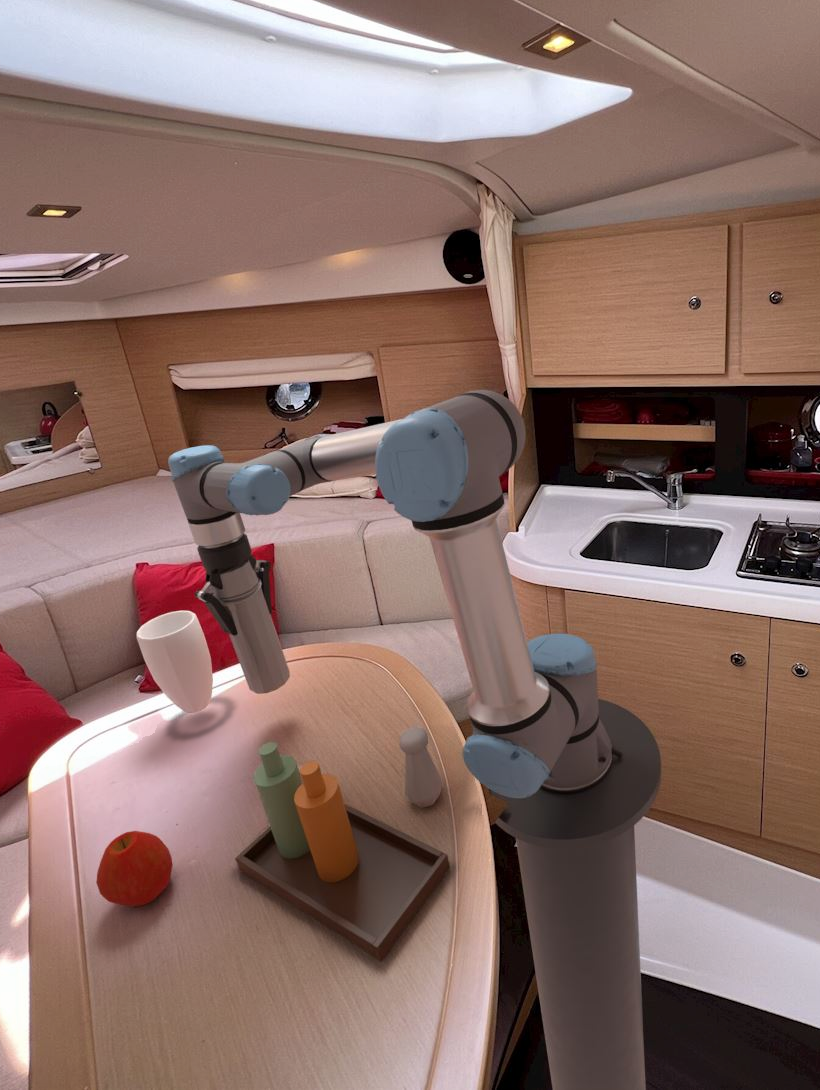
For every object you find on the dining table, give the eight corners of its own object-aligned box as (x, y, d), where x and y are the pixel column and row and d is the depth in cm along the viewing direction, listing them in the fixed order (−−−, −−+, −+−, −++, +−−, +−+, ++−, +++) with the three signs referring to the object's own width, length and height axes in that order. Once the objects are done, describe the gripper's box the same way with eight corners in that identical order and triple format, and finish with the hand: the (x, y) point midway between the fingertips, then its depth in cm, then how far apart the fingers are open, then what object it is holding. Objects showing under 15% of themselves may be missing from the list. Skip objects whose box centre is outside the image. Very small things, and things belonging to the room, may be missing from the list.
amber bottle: (360, 841, 89) (333, 747, 82) (358, 876, 83) (329, 778, 77) (320, 852, 87) (289, 757, 81) (315, 887, 82) (283, 789, 76)
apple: (102, 930, 80) (71, 874, 76) (125, 874, 87) (98, 821, 83) (170, 910, 82) (143, 855, 78) (187, 857, 89) (164, 804, 85)
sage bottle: (320, 821, 93) (292, 729, 86) (316, 852, 87) (285, 757, 81) (282, 830, 91) (250, 738, 85) (275, 863, 86) (241, 768, 80)
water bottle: (254, 675, 114) (211, 559, 105) (297, 666, 115) (258, 551, 106) (240, 707, 106) (192, 584, 96) (286, 698, 107) (243, 576, 97)
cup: (233, 693, 124) (201, 603, 116) (228, 725, 115) (194, 630, 107) (176, 709, 121) (139, 618, 113) (167, 743, 112) (126, 647, 104)
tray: (450, 867, 84) (447, 854, 83) (381, 961, 73) (377, 948, 72) (315, 799, 97) (311, 787, 96) (239, 870, 86) (234, 858, 85)
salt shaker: (404, 814, 93) (388, 749, 88) (411, 784, 98) (396, 721, 94) (441, 810, 93) (428, 745, 88) (446, 781, 98) (434, 718, 94)
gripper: (243, 520, 107) (278, 633, 115) (168, 553, 96) (212, 674, 105) (271, 525, 103) (304, 641, 112) (195, 560, 92) (239, 685, 101)
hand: (260, 657), depth 108 cm, fingers closed
